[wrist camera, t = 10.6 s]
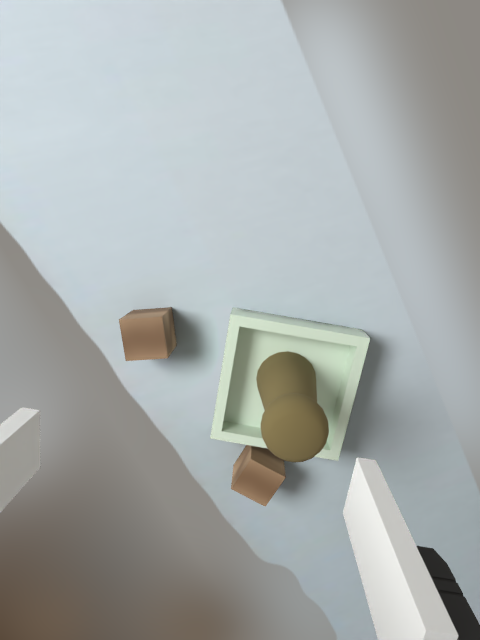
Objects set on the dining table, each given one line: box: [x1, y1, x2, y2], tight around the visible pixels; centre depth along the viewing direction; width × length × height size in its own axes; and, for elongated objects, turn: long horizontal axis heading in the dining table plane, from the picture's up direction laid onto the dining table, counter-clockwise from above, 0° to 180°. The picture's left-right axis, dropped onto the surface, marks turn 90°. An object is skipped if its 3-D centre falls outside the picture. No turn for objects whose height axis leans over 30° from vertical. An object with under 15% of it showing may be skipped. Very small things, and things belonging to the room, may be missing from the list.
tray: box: [210, 308, 370, 461], centre depth 38 cm, size 13×13×3 cm
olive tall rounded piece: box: [256, 351, 329, 462], centre depth 33 cm, size 6×6×11 cm
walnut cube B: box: [231, 445, 286, 506], centre depth 40 cm, size 4×4×4 cm
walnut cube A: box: [119, 307, 177, 361], centre depth 37 cm, size 4×4×4 cm
